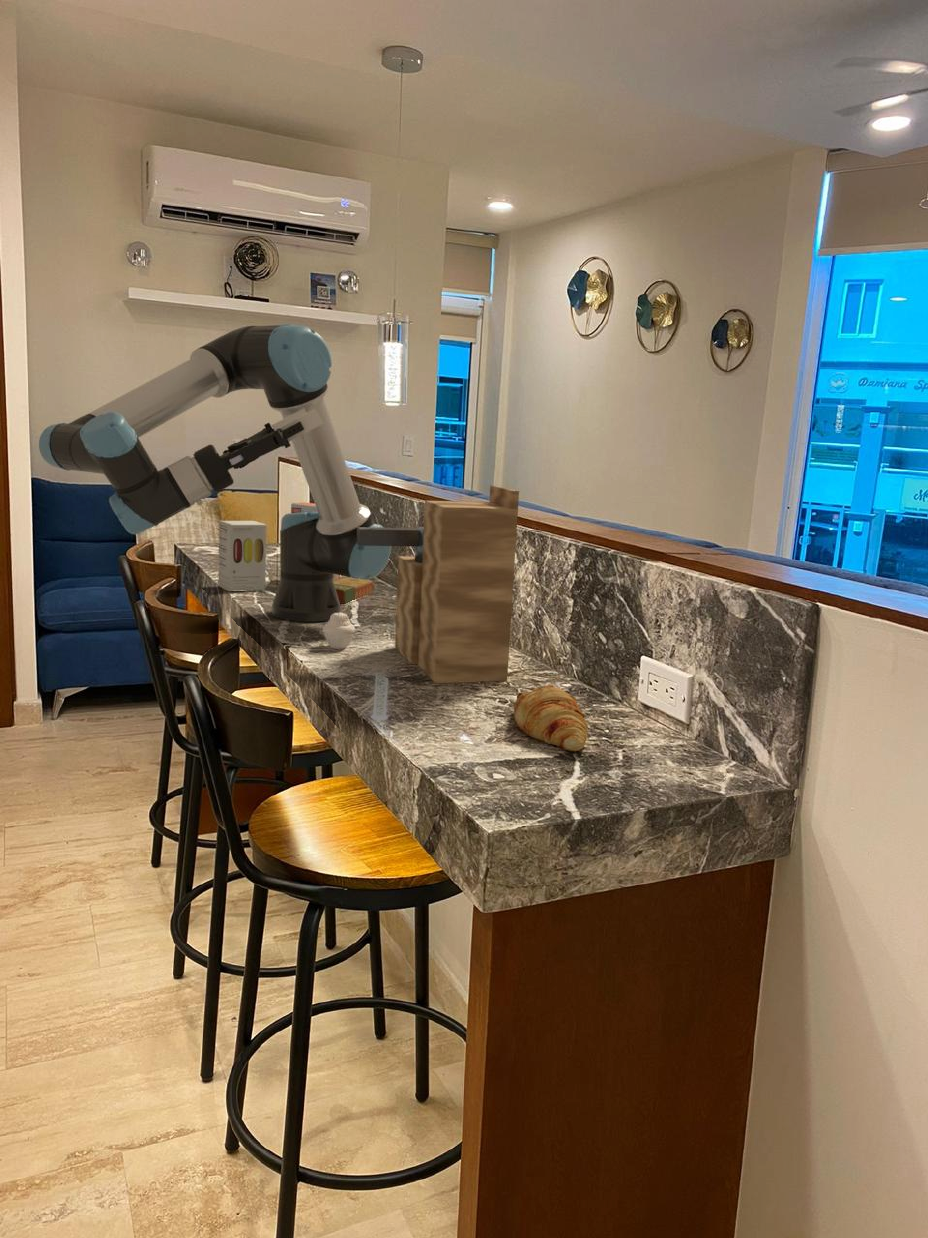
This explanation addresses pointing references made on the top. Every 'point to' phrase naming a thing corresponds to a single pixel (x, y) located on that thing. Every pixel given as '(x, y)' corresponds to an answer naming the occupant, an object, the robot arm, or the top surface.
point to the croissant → (551, 717)
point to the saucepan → (393, 538)
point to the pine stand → (460, 590)
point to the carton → (352, 588)
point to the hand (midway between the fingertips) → (313, 415)
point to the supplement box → (242, 555)
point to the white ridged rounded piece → (338, 631)
